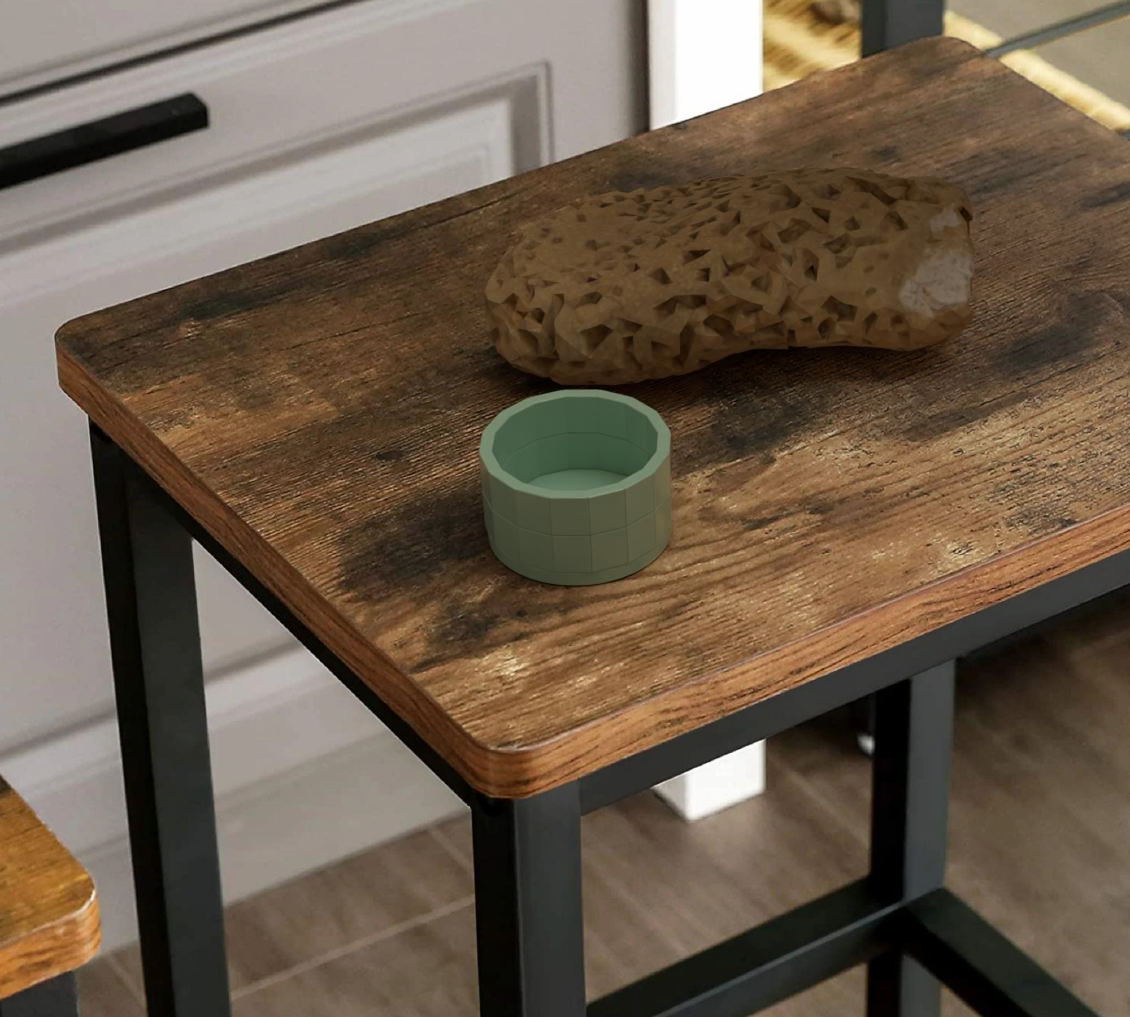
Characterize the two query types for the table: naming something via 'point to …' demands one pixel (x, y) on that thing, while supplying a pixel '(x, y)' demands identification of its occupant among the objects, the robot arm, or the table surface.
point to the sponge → (733, 273)
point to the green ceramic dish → (577, 486)
